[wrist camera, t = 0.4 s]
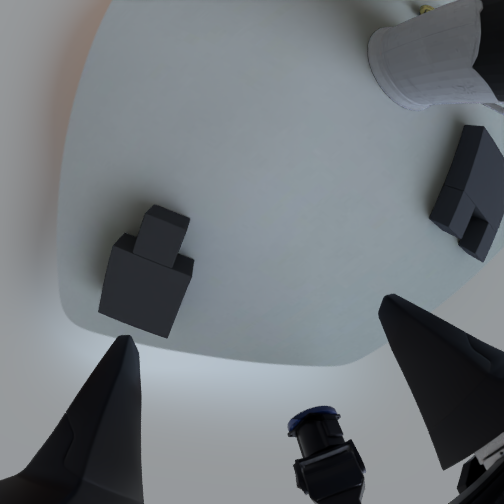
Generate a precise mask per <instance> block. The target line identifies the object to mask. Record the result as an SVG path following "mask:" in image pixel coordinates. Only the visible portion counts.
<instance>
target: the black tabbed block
mask: <svg viewBox="0 0 504 504" xmlns="http://www.w3.org/2000/svg"><path fill="white" fill-rule="evenodd" d="M189 222H190V218H188V217H185V216H183V215H180V214H178V213H175V212H173V211H170V210H168V209H165V208H163V207H160V206H158V205H155V204H154V205H153V206H152V207H151V208H150V209H149V210H148V211H147V212H146V213H145V215H144V218H143V221H142V224H141V227H140V230H139V233H138V236H137V237H134V236H132V235H130V234H127V233H124V234H123V235H122V236H121V237H120V238H119V240H118V241H117V242H116V243H115V244H114V245H113V247H112V251H111V254H110V258H109V262H108V267H107V271H106V275H105V280H104V284H103V289H102V294H101V299H100V304H99V310H98V312H99V313H101V314H104V315H106V316H108V317H111V318H113V319H116V320H118V321H121V322H123V323H126V324H128V325H131V326H134V327H136V328H139V329H142V330H144V331H147V332H150V333H153V334H155V335H158V336H161V337H164V338H168V336H169V333H170V330H171V328H172V325H173V323H174V320H175V317H176V315H177V312H178V310H179V307H180V305H181V302H182V300H183V297H184V295H185V292H186V290H187V287H188V285H189V283H190V280H191V278H192V272H193V265H194V260H193V259H190V258H188V257H185V256H182V255H180V254H178V251H179V249H180V246H181V244H182V241H183V239H184V236H185V234H186V231H187V228H188V225H189Z"/></svg>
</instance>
